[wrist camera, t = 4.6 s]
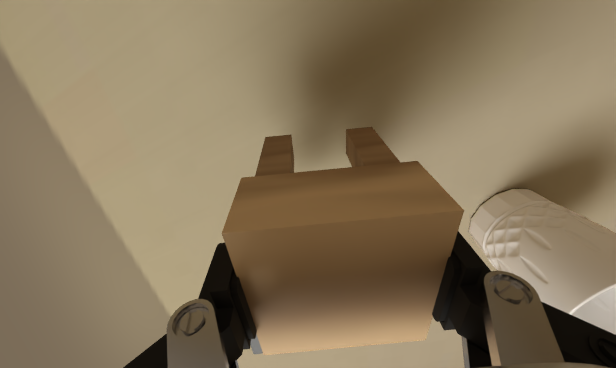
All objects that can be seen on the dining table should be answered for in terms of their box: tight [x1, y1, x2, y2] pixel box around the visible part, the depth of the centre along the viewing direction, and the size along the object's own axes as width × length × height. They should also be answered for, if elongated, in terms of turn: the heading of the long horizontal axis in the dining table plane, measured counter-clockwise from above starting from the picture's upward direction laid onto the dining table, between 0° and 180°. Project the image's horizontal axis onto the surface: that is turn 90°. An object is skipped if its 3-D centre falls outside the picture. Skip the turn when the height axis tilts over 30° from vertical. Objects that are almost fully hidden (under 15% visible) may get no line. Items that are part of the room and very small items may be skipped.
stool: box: [222, 127, 464, 355], centre depth 12 cm, size 6×6×8 cm
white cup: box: [469, 189, 616, 335], centre depth 20 cm, size 8×8×10 cm
